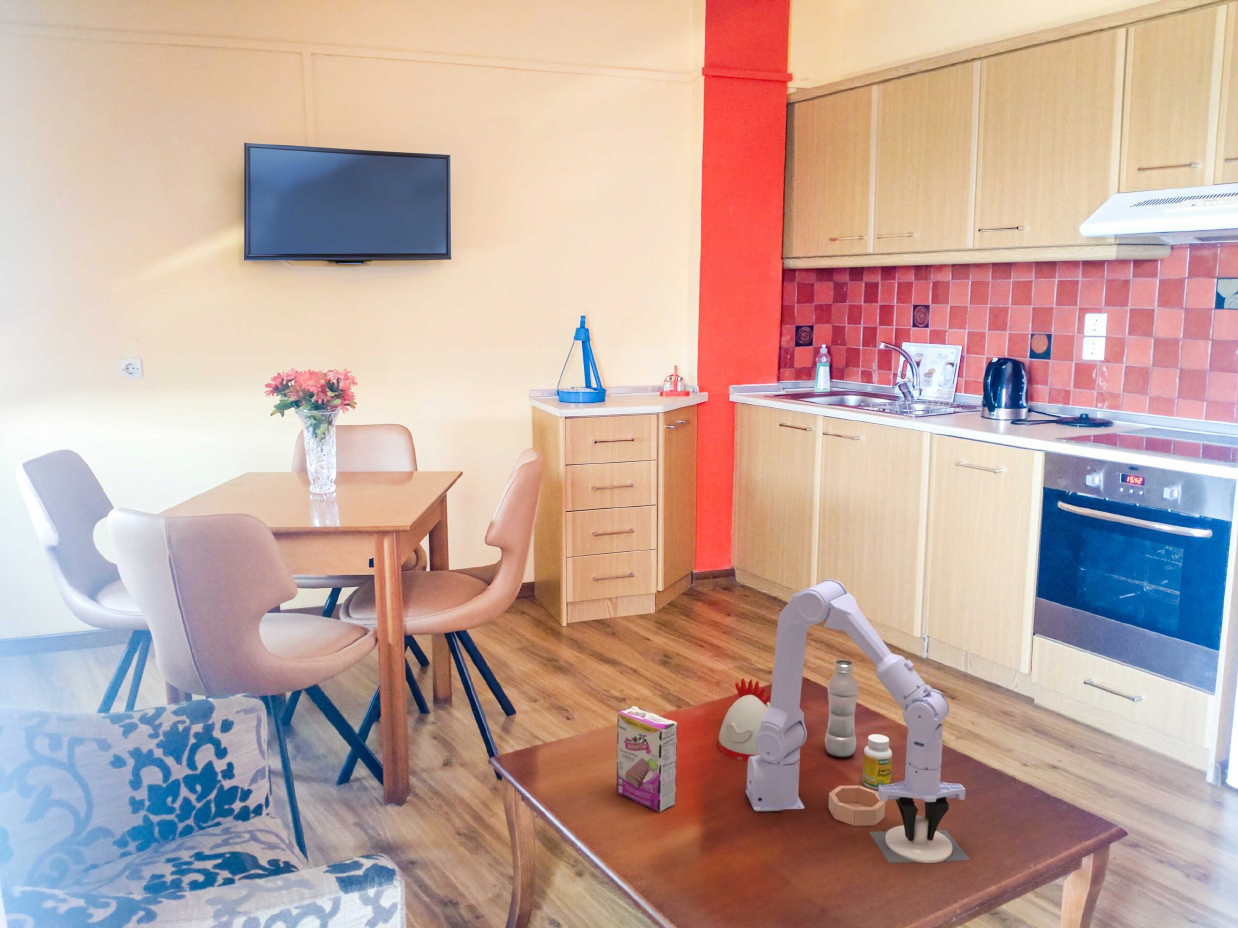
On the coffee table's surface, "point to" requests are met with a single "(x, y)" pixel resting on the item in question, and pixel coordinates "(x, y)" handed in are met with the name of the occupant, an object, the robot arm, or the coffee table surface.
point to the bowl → (856, 805)
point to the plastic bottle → (841, 710)
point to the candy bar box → (646, 758)
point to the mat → (893, 858)
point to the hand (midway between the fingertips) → (918, 837)
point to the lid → (919, 843)
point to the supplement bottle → (877, 762)
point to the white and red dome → (743, 722)
